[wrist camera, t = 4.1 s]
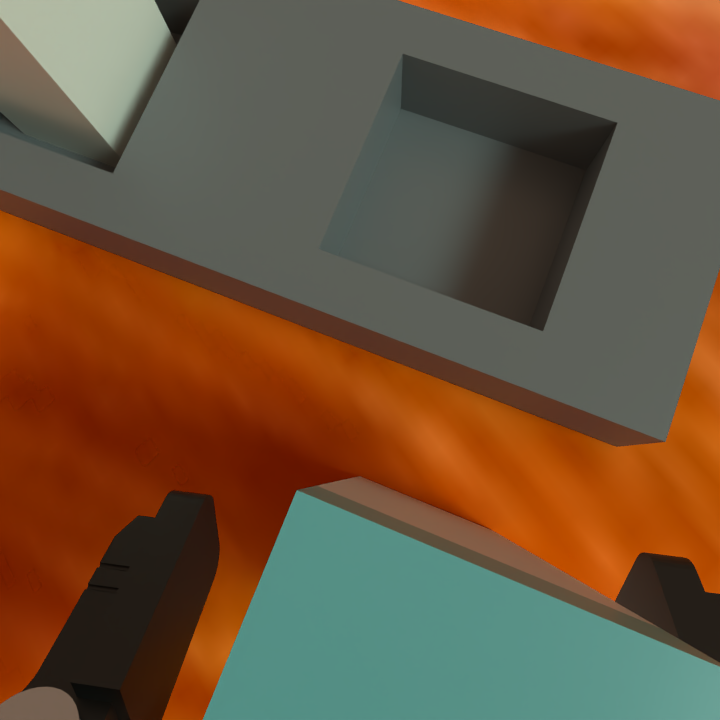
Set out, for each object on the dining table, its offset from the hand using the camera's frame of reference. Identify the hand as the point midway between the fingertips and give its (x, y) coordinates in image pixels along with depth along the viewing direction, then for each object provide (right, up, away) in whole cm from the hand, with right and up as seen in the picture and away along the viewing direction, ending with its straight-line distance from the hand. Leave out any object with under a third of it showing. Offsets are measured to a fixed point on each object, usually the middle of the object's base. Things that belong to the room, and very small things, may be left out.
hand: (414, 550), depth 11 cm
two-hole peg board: (-3, +9, +8) cm, 12 cm away
